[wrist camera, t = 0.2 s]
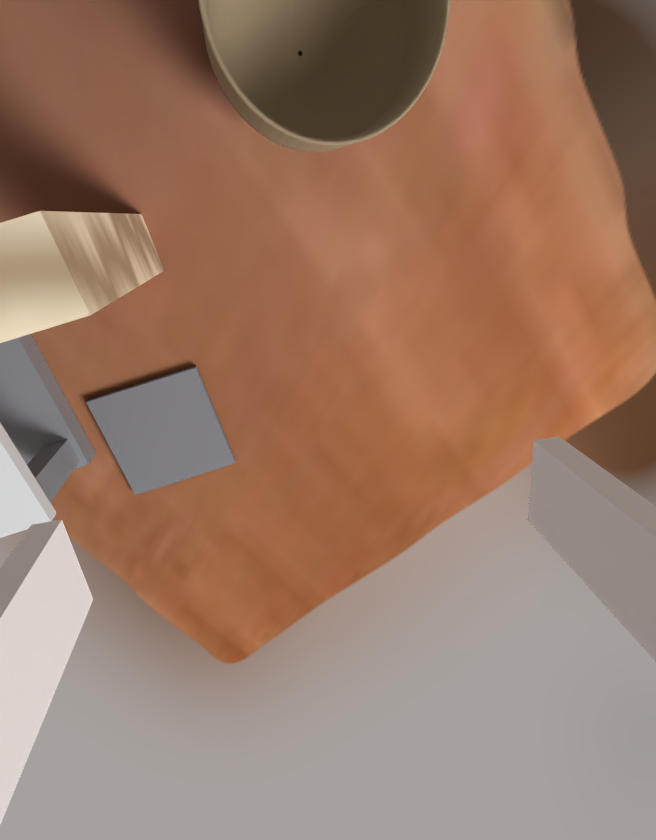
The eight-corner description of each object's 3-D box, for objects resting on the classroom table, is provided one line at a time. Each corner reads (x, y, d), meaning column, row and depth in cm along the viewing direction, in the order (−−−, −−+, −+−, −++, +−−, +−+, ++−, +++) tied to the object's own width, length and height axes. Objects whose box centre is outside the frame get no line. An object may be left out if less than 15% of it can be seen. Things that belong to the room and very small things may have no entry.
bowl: (403, 156, 35) (455, 135, 26) (227, 170, 34) (218, 153, 25) (398, -72, 30) (461, -196, 21) (192, -65, 29) (165, -193, 20)
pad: (88, 399, 39) (85, 402, 38) (196, 365, 39) (195, 367, 38) (136, 491, 42) (135, 495, 42) (235, 459, 43) (234, 463, 42)
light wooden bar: (86, 230, 34) (-66, 243, 18) (141, 214, 34) (39, 210, 18) (112, 286, 36) (-6, 344, 19) (164, 270, 36) (90, 315, 20)
